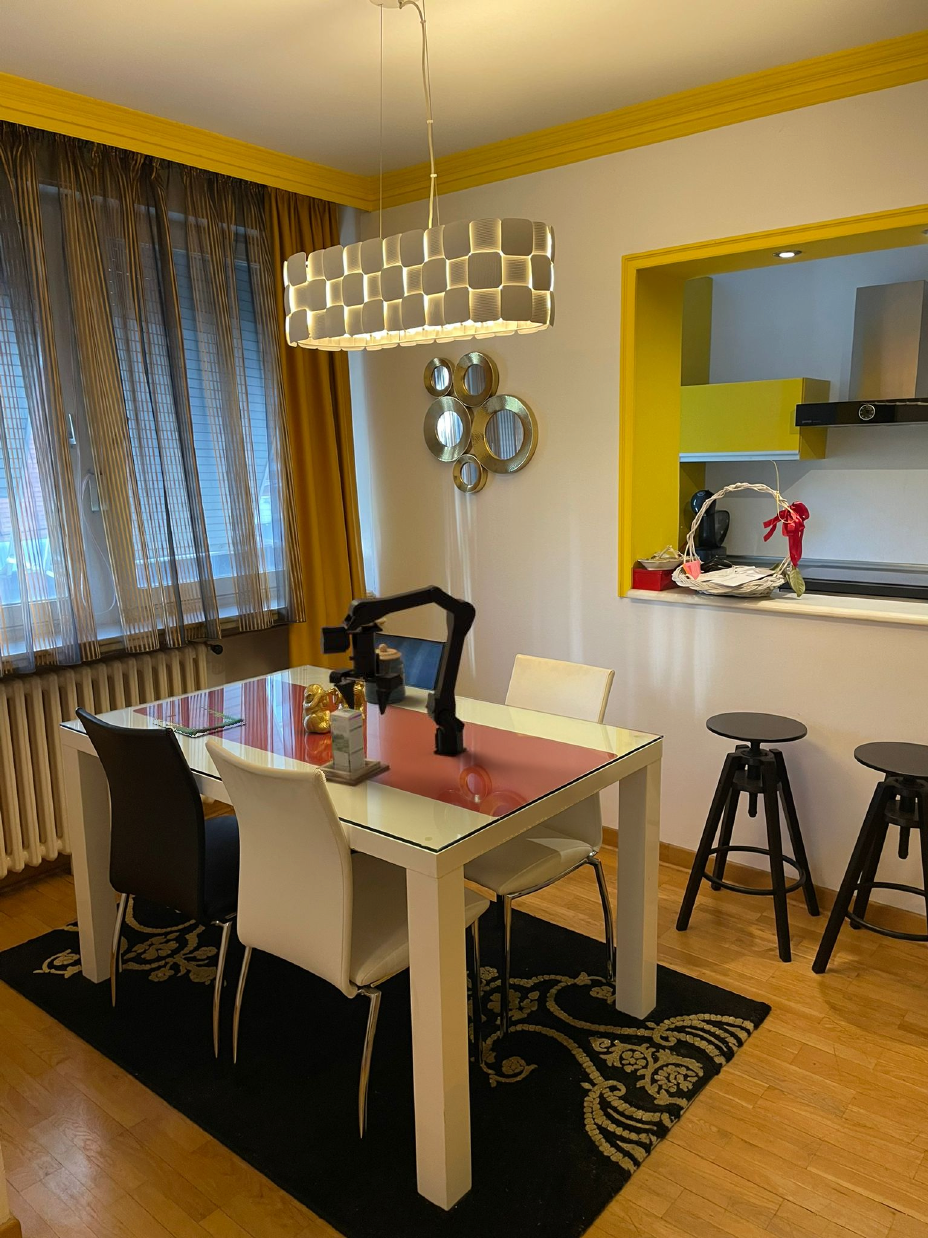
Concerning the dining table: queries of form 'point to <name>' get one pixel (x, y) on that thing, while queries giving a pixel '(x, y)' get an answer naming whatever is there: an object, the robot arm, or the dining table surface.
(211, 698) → the dining table surface
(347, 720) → the syrup box
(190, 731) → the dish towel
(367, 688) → the canister
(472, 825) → the dining table surface
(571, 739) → the dining table surface
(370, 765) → the socket stand
